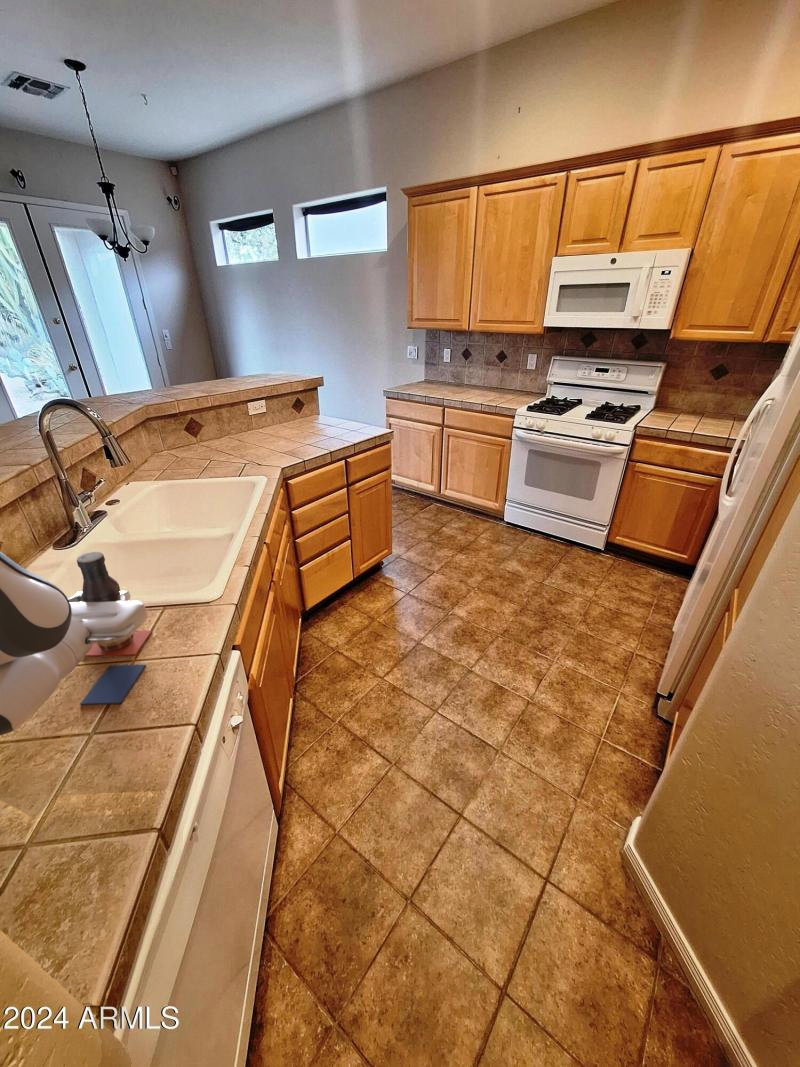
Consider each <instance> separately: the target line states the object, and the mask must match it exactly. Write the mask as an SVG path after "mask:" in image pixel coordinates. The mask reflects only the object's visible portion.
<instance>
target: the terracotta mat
mask: <svg viewBox="0 0 800 1067" xmlns="http://www.w3.org/2000/svg"><path fill="white" fill-rule="evenodd" d="M152 633H153V630H152V629H149V630H148V629H147V630H136V631H135V632H134V633H133V639H132V640H131V642H130V643H129V644H128V645H126V646H125V647H123V648H120V649H119V650H116V651H104V650H101V649H100V647H99V646H98V644H92V647H91V649H90V651H89V652H88V653H87V654H86V655H85V657H84V658H98V657H99V658H100V657H103V658H104V657H105V658H106V657H136V656H137V654H138V653H139V652H140V650H141V649H142V647H143V646H144V644H145V643H146V641H147V640H148V639H149V638H150V635H151V634H152Z"/></svg>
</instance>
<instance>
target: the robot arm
mask: <svg viewBox="0 0 800 1067" xmlns="http://www.w3.org/2000/svg"><path fill="white" fill-rule="evenodd" d="M116 598H117V599H118V600H117V601H113V602H82V591H77V592H76V593H75V594H74V595H73V596H70V597H68V596H67V595H66V594H65V592H64V591H63V590H62V589H61V588H60V587H58V586H56V585H55V584H54V583H52V582H50V581H49V580H47V579H45V578H43V577H42V576H39V575H37V574H35V573H33V572H31V571H29V570H27V569H25V568H24V567H23V566H21V565H19V564H18V563H17V562H15V561H13V559H11V558H9V556H7V555H6V554H5V553H3V552H2V551H0V736H3V735H6V734H9V733H11V732H14V731H15V730H17V729H18V728H20V727H21V726H22V725H24V724H25V723H26V722H27V721H28V720H29V719H30V718H31V717H32V716H34V714H35V713H36V712H38V711H39V710H40V708H42V706H43V705H44V704H45V703H46V702H47V701H48V700H49V699H50V698H51V696H52V695H53V694H54V693H55V692H56V691H57V688H58V686H59V685H60V682H61V681H62V680H63V679H64V678H66V677H67V676H69V674H71V673H72V672H73V670H74V669H76V667H77V666H78V665H79V664H80V663H81V662H82V660H83V659H84V658H86V657H85V655H86V654H87V653H88V652H89V651H90V649H91V647H92V644H97V643H115V642H119V641H122V640H125V639H127V638H128V637H130V636H131V635H132V634H133V633H134V632H135V631H138V630H139V628H141V626H143V624H144V623H146V620H148V612H147V608H146V605H145V604H144V603H143V601H141V600H131V594H130V591H129V590H120V592H119V593H118V594H117V595H116Z"/></svg>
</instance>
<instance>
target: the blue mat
mask: <svg viewBox="0 0 800 1067" xmlns="http://www.w3.org/2000/svg"><path fill="white" fill-rule="evenodd" d="M146 667H147V664H116V665H115V664H114V665H108V667H107V668H106V669H105V671H104V672H103V673H102V675H100V677H98V679H97V681H96V682H95V684H94V685H93V686H92V687H91V689H90V690H89V692H87V694H86V696H85V697H83V699H82V701H81V702H80V706H104V705H122V704H123V702H124V701H125V699H126V697H127V696H128V695H129V693H130V692H131V690H132V688H133V687H134V685H135V684H136V682H137V681H138V680H139V678H140V676H141V675H142V673H143V672H144V670H145V668H146Z"/></svg>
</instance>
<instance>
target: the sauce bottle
mask: <svg viewBox="0 0 800 1067" xmlns="http://www.w3.org/2000/svg"><path fill="white" fill-rule="evenodd" d="M105 562H106V558H105V556H104V553H103V552H101V551H90V552H89V551H88V552H86V553H82V554H81V555H79V556H77V558H76V564H77V567H78V568H79V569H80V571H81V572H80V573H81V575H82V580H83V581H82V591H81V592H82V602H113V601H117V600H118V599H117V598H116V595H117V594H118V593H119V592H120V591H121V587H120V584H119V583H118V581H117V580H116V579H115V578H114V577H112V576H111V575H109V570H108V569H107V566H106V563H105ZM132 639H133V634H132V635H131V636H130V637H128V638H127V639H125V640H122V641H119V642H115V643H97V644H98V646H99V647H100V649H101V650H104V651H116V650H119V649H120V648H123V647H125V646H126V645H128V644H129V643H130V642H131V640H132Z"/></svg>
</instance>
